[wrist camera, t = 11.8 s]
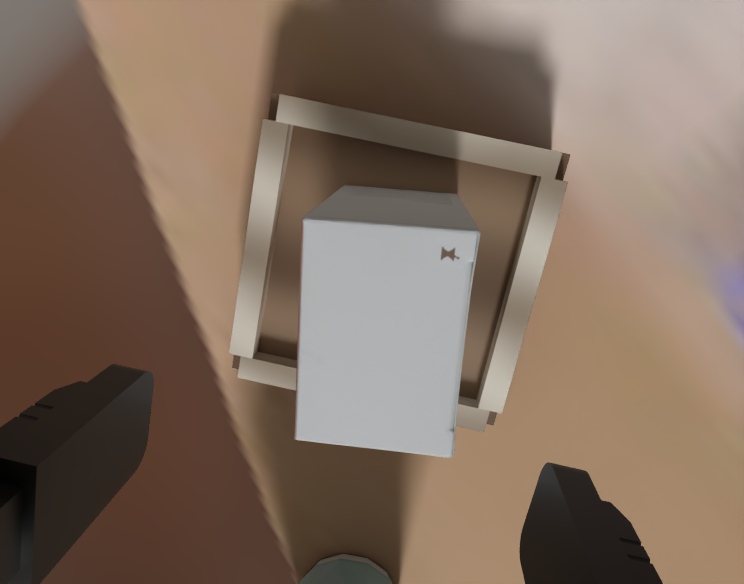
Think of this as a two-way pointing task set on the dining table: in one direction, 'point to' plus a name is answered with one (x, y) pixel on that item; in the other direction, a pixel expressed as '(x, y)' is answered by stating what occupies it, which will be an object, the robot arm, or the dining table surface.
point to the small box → (383, 319)
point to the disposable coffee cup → (346, 571)
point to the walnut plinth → (406, 172)
